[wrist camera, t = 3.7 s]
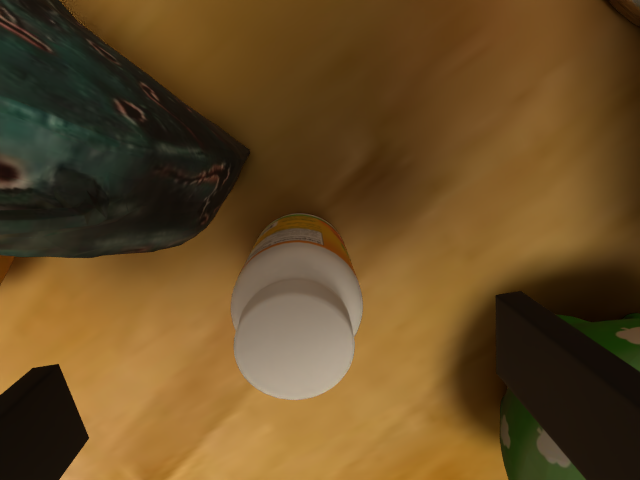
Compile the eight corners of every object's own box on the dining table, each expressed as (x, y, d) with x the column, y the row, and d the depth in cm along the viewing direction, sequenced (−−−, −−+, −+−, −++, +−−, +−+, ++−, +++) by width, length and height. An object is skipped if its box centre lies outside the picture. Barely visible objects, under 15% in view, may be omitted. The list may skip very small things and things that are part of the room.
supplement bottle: (346, 295, 21) (377, 414, 12) (258, 299, 21) (221, 423, 12) (344, 209, 20) (378, 268, 11) (250, 213, 20) (200, 277, 10)
